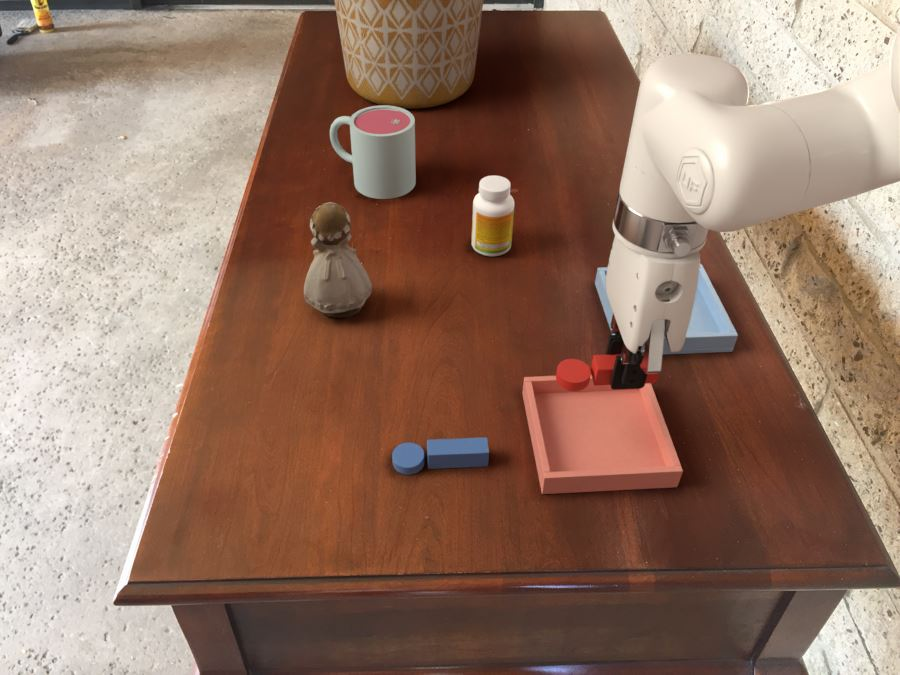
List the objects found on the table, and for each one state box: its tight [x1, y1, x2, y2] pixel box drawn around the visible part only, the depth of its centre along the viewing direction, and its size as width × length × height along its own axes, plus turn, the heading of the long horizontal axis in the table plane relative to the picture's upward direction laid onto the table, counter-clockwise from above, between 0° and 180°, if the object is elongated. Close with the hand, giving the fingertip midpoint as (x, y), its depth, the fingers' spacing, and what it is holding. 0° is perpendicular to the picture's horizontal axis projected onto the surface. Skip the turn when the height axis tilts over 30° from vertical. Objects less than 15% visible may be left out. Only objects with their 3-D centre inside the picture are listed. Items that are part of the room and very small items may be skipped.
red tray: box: [522, 375, 684, 495], centre depth 80 cm, size 13×13×3 cm
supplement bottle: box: [471, 174, 515, 257], centre depth 102 cm, size 5×5×10 cm
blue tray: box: [594, 263, 739, 356], centre depth 94 cm, size 13×13×3 cm
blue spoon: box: [391, 436, 490, 476], centre depth 77 cm, size 3×10×2 cm, turn 94°
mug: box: [329, 104, 417, 200], centre depth 114 cm, size 14×9×10 cm
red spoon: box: [555, 354, 660, 391], centre depth 74 cm, size 3×10×2 cm, turn 94°
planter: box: [333, 0, 484, 110], centre depth 133 cm, size 26×26×22 cm
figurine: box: [303, 201, 373, 320], centre depth 90 cm, size 8×7×15 cm
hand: (623, 375), depth 75 cm, fingers closed on red spoon, 2 cm apart
